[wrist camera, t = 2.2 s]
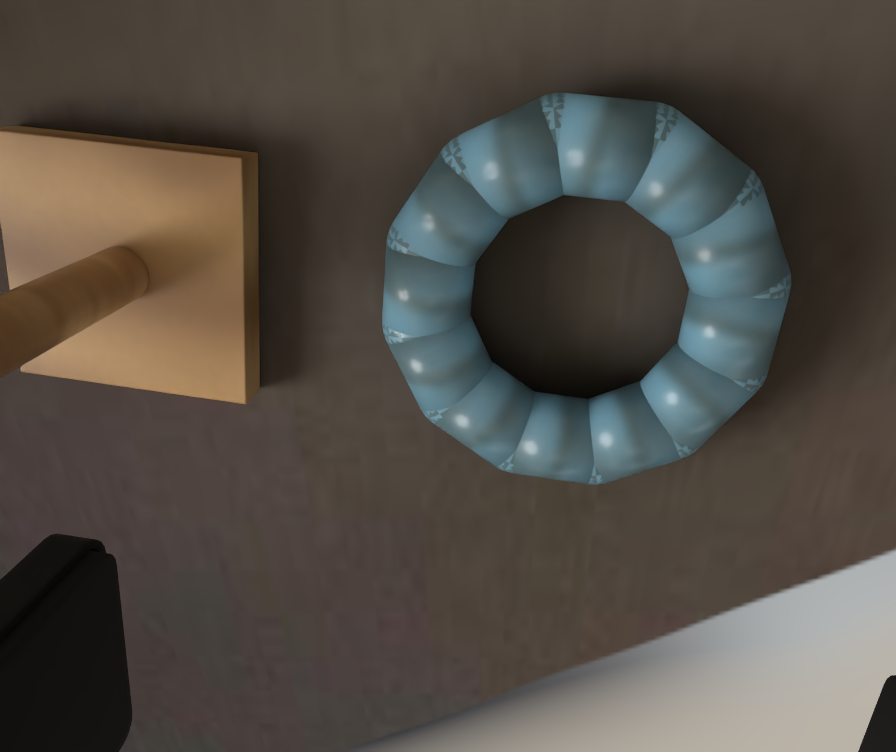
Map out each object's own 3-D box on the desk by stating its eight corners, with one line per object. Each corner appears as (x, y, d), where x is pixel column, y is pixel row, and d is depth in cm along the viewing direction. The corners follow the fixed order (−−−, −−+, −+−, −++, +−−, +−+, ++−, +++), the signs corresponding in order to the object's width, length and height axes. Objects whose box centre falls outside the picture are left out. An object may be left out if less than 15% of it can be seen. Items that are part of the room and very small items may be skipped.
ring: (406, 74, 25) (387, 77, 23) (819, 115, 24) (851, 124, 21) (384, 429, 30) (366, 467, 28) (723, 478, 29) (739, 522, 27)
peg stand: (15, 124, 28) (-370, 177, 16) (258, 152, 27) (32, 227, 16) (44, 358, 31) (-255, 534, 20) (260, 388, 31) (77, 591, 19)
